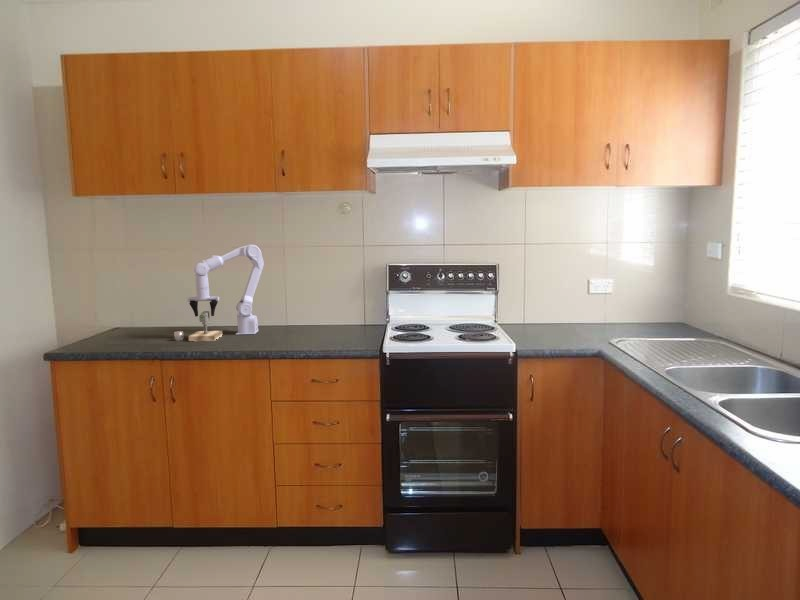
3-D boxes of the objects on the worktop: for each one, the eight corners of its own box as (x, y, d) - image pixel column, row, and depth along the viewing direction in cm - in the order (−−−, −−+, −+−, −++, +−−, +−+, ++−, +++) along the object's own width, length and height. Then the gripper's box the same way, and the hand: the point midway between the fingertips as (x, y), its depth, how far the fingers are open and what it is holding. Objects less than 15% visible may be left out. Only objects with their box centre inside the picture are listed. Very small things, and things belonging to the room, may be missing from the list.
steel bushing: (185, 339, 261) (184, 330, 261) (181, 341, 257) (181, 332, 257) (176, 339, 261) (176, 331, 261) (173, 341, 257) (172, 332, 257)
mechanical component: (199, 335, 256) (198, 314, 254) (205, 331, 266) (203, 311, 264) (206, 335, 256) (204, 314, 255) (211, 331, 266) (209, 310, 265)
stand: (222, 335, 267) (222, 330, 267) (214, 340, 255) (214, 335, 255) (197, 336, 267) (197, 331, 267) (188, 341, 255) (188, 336, 255)
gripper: (220, 286, 265) (222, 314, 267) (190, 287, 265) (192, 315, 267) (215, 288, 258) (218, 316, 260) (184, 289, 258) (187, 317, 260)
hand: (204, 316), depth 263 cm, fingers open, 7 cm apart
